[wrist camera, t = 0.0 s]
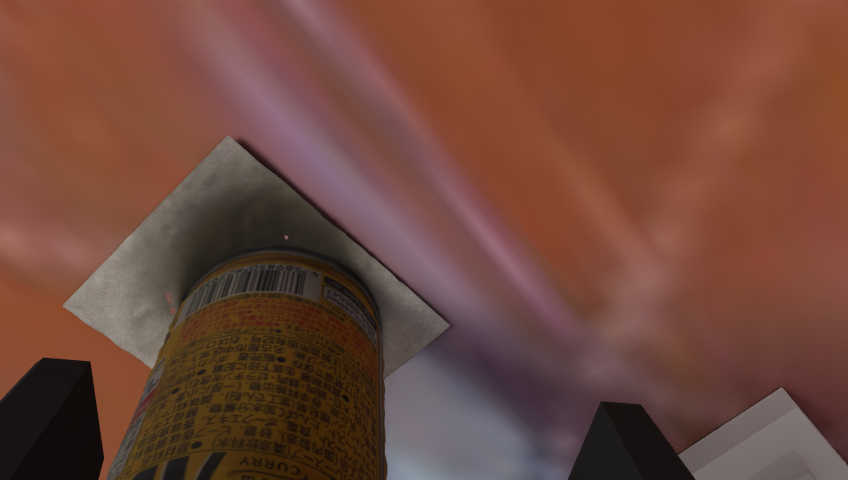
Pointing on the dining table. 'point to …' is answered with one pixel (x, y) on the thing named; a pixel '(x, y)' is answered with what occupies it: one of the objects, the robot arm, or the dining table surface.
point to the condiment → (252, 333)
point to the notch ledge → (766, 447)
